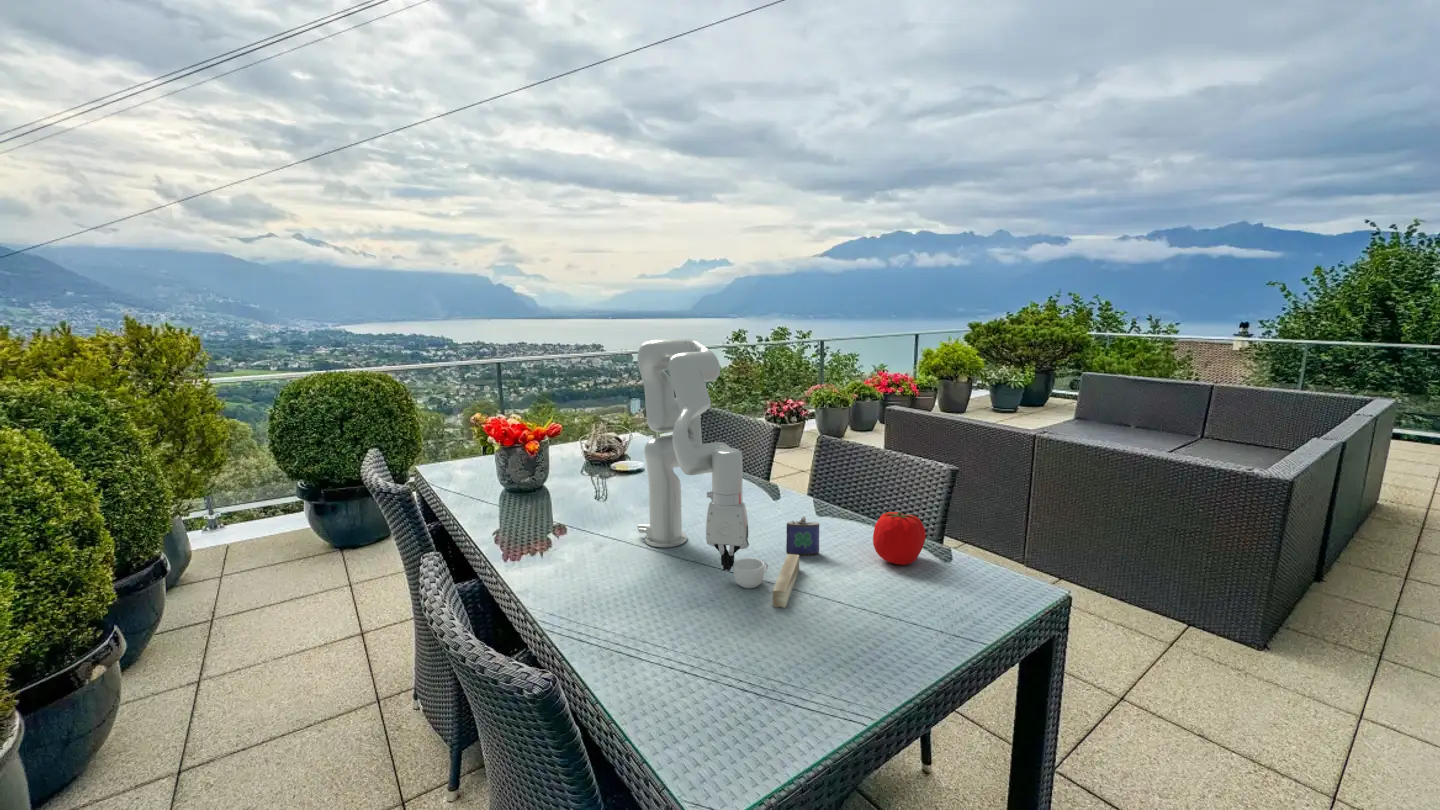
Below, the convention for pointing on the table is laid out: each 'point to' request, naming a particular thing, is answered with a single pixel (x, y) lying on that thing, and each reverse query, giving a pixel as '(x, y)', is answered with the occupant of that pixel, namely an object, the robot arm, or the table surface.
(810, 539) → the clover hip flask
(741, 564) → the teacup
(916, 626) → the table surface
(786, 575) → the wooden bar
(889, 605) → the table surface
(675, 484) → the robot arm
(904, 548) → the tomato
